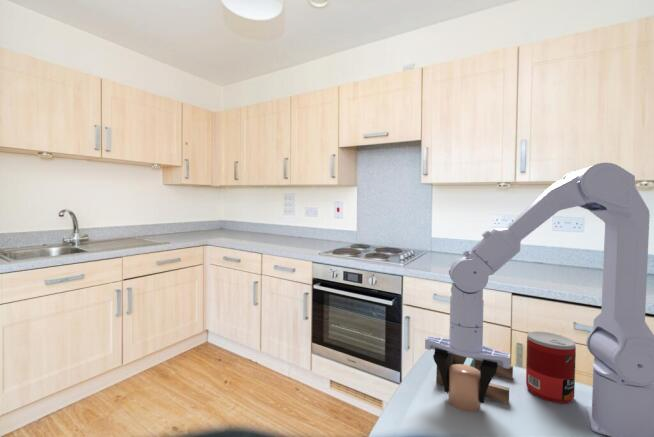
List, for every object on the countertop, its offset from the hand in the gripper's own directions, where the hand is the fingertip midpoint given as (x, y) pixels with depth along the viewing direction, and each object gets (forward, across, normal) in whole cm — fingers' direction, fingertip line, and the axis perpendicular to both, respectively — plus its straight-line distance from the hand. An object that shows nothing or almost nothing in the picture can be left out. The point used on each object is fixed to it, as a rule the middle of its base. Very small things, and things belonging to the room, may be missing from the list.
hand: (464, 395), depth 61 cm
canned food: (+2, -14, -14) cm, 19 cm away
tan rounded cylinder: (+1, 0, 0) cm, 1 cm away
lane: (+1, -1, -10) cm, 11 cm away
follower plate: (+1, +1, -10) cm, 11 cm away
